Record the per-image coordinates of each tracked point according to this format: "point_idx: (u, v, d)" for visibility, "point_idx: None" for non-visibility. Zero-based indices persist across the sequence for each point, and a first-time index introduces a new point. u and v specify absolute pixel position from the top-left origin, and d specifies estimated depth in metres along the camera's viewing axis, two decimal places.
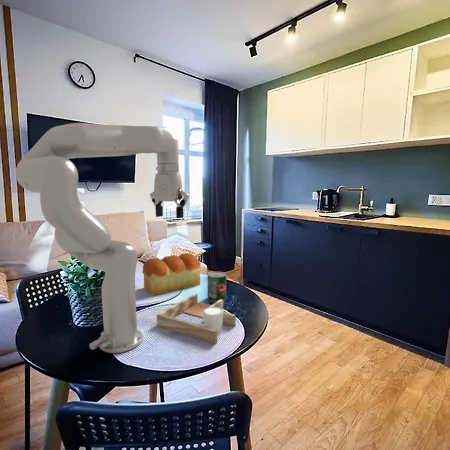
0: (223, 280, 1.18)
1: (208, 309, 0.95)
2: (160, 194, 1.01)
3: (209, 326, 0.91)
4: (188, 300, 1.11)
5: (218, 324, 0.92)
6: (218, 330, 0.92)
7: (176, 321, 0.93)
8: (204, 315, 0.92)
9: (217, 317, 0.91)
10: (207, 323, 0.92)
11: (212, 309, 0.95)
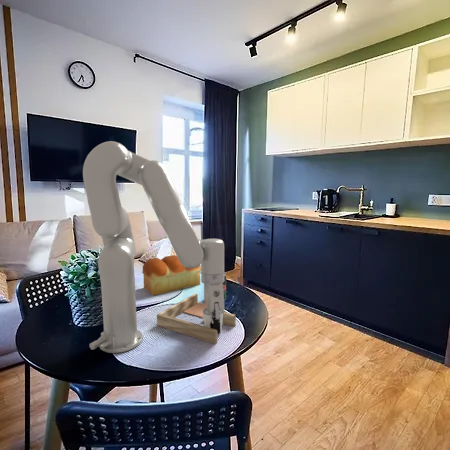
0: None
1: None
2: None
3: (209, 326, 0.91)
4: (188, 300, 1.11)
5: None
6: None
7: (176, 321, 0.93)
8: (204, 315, 0.92)
9: None
10: (207, 323, 0.92)
11: None
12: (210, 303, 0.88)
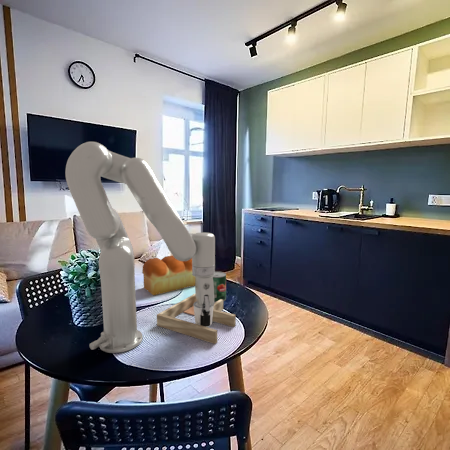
0: (223, 280, 1.18)
1: None
2: None
3: (199, 318, 0.93)
4: (188, 300, 1.11)
5: None
6: None
7: (176, 321, 0.93)
8: (194, 308, 0.93)
9: None
10: (197, 315, 0.93)
11: None
12: (200, 296, 0.90)
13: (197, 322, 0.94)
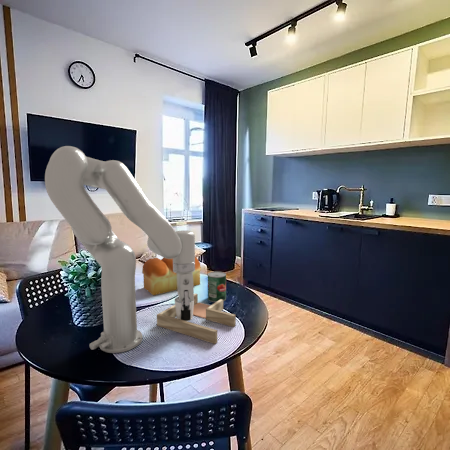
0: (223, 280, 1.18)
1: None
2: None
3: (180, 313, 0.97)
4: None
5: None
6: None
7: (176, 321, 0.93)
8: (175, 303, 0.97)
9: None
10: (178, 310, 0.97)
11: None
12: (180, 291, 0.93)
13: (178, 316, 0.98)
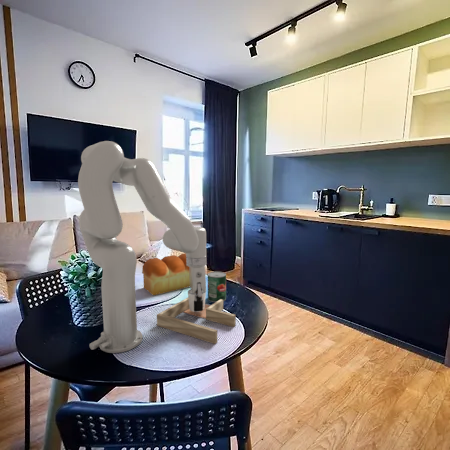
0: (223, 280, 1.18)
1: None
2: None
3: (193, 304, 1.04)
4: (188, 300, 1.11)
5: None
6: None
7: (176, 321, 0.93)
8: (188, 294, 1.04)
9: None
10: (191, 301, 1.04)
11: None
12: (193, 283, 1.00)
13: (191, 307, 1.05)
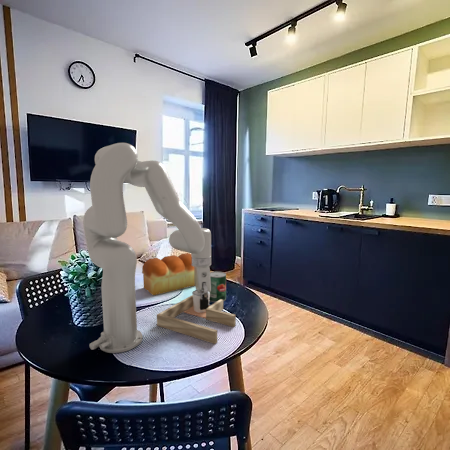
0: (223, 280, 1.18)
1: (197, 291, 1.10)
2: None
3: (197, 305, 1.07)
4: (188, 300, 1.11)
5: None
6: None
7: (176, 321, 0.93)
8: (193, 295, 1.07)
9: None
10: (196, 302, 1.07)
11: None
12: (198, 283, 1.03)
13: (196, 308, 1.08)
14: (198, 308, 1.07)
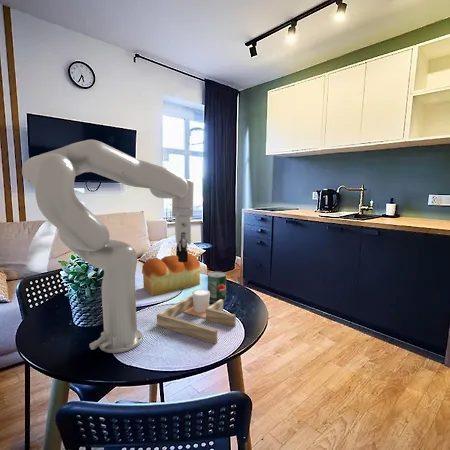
0: (223, 280, 1.18)
1: (197, 291, 1.10)
2: None
3: (197, 305, 1.07)
4: (188, 300, 1.11)
5: (205, 303, 1.07)
6: (205, 308, 1.08)
7: (176, 321, 0.93)
8: (193, 295, 1.07)
9: (204, 297, 1.06)
10: (196, 302, 1.07)
11: (200, 291, 1.10)
12: (178, 233, 0.99)
13: (196, 308, 1.08)
14: (198, 308, 1.07)
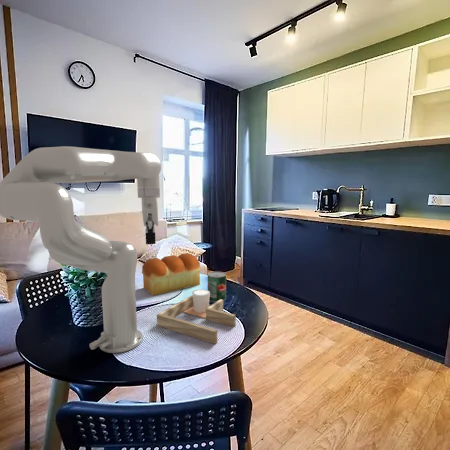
0: (223, 280, 1.18)
1: (197, 291, 1.10)
2: None
3: (197, 305, 1.07)
4: (188, 300, 1.11)
5: (205, 303, 1.07)
6: (205, 308, 1.08)
7: (176, 321, 0.93)
8: (193, 295, 1.07)
9: (204, 297, 1.06)
10: (196, 302, 1.07)
11: (200, 291, 1.10)
12: (143, 214, 0.95)
13: (196, 308, 1.08)
14: (198, 308, 1.07)
